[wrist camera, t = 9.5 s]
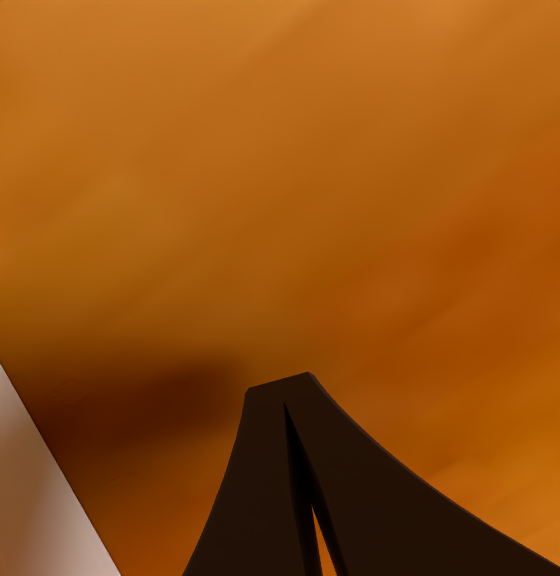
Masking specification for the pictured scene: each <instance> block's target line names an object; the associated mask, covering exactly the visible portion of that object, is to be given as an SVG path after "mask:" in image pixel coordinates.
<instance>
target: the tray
mask: <svg viewBox="0 0 560 576" xmlns="http://www.w3.org/2000/svg"><path fill="white" fill-rule="evenodd" d="M0 576H121V575H120V573H119V572H118V570H117V568H116V566H115V565H114V563H113V561H112V559H111V558H110V556H109V554H108V552H107V551H106V549H105V547H104V545H103V544H102V542H101V540H100V538H99V536H98V535H97V533H96V531H95V529H94V528H93V526H92V524H91V522H90V521H89V519H88V517H87V515H86V514H85V512H84V510H83V508H82V507H81V505H80V503H79V501H78V500H77V498H76V496H75V494H74V493H73V491H72V489H71V487H70V486H69V484H68V482H67V480H66V479H65V477H64V475H63V473H62V472H61V470H60V468H59V466H58V465H57V463H56V461H55V459H54V457H53V456H52V454H51V452H50V450H49V449H48V447H47V445H46V443H45V442H44V440H43V438H42V436H41V435H40V433H39V431H38V429H37V428H36V426H35V424H34V422H33V421H32V419H31V417H30V415H29V414H28V412H27V410H26V408H25V407H24V405H23V403H22V401H21V400H20V398H19V396H18V394H17V393H16V391H15V389H14V387H13V385H12V384H11V382H10V380H9V378H8V377H7V375H6V373H5V371H4V370H3V368H2V366H1V364H0Z"/></svg>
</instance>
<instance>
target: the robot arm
mask: <svg viewBox="0 0 560 576" xmlns="http://www.w3.org/2000/svg"><path fill="white" fill-rule="evenodd" d="M311 504H312V505H311ZM312 507H313V510H314V513H315V515H316V518H317V521H318V524H319V527H320V529H321V532H322V535H323V538H324V540H325V543H326V546H327V549H328V552H329V554H330V557H331V560H332V563H333V565H334V568H335V571H336V574H337V576H560V567H559V566H558V565H556V564H554V563H552V562H551V561H549V560H547V559H546V558H544V557H542V556H541V555H539V554H537V553H535V552H534V551H532V550H530V549H529V548H527V547H525V546H524V545H522V544H520V543H518V542H517V541H515V540H513V539H512V538H510V537H508V536H507V535H505V534H503V533H501V532H500V531H498V530H496V529H495V528H493V527H491V526H490V525H488V524H487V523H485V522H484V521H482V520H481V519H479V518H477V517H476V516H474V515H473V514H471V513H470V512H468V511H467V510H465V509H464V508H462V507H461V506H459V505H458V504H456V503H455V502H453V501H452V500H451V499H449V498H448V497H446V496H445V495H444V494H442V493H441V492H439V491H438V490H436V489H435V488H434V487H432V486H431V485H429V484H428V483H427V482H425V481H424V480H423V479H421V478H420V477H419V476H418V475H416V474H415V473H414V472H412V471H411V470H410V469H409V468H407V467H406V466H405V465H403V464H402V463H401V462H400V461H399V460H397V459H396V458H395V457H394V456H393V455H391V454H390V453H389V452H388V451H387V450H385V449H384V448H383V447H382V446H381V445H380V444H379V443H377V442H376V441H375V440H374V439H373V438H372V437H371V436H370V435H369V434H367V433H366V432H365V431H364V430H363V429H362V428H361V427H360V426H359V425H358V424H357V423H356V422H355V421H354V420H353V419H352V418H351V417H350V416H349V415H348V414H347V413H346V412H345V411H344V410H343V409H342V408H341V407H340V406H339V405H338V404H337V403H336V402H335V401H334V400H333V398H332V397H331V396H330V395H329V394H328V393H327V392H326V390H325V389H324V388H323V387H322V385H321V384H320V383H319V381H318V380H317V379H316V377H315V376H314V375H313V374H311V373H309V372H305V373H302V374H298V375H294V376H291V377H287V378H283V379H280V380H276V381H272V382H269V383H265V384H262V385H258V386H254V387H251V388H249V389H248V390H247V392H246V393H245V399H244V406H243V411H242V416H241V420H240V424H239V428H238V432H237V436H236V440H235V443H234V446H233V450H232V453H231V456H230V459H229V463H228V466H227V469H226V472H225V475H224V478H223V481H222V483H221V486H220V489H219V491H218V494H217V497H216V499H215V502H214V505H213V507H212V510H211V513H210V515H209V518H208V520H207V522H206V525H205V527H204V529H203V532H202V534H201V537H200V539H199V541H198V543H197V546H196V548H195V550H194V552H193V554H192V556H191V558H190V561H189V563H188V565H187V567H186V569H185V571H184V573H183V575H182V576H323V574H322V567H321V561H320V555H319V549H318V542H317V536H316V530H315V524H314V518H313V511H312Z"/></svg>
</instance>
